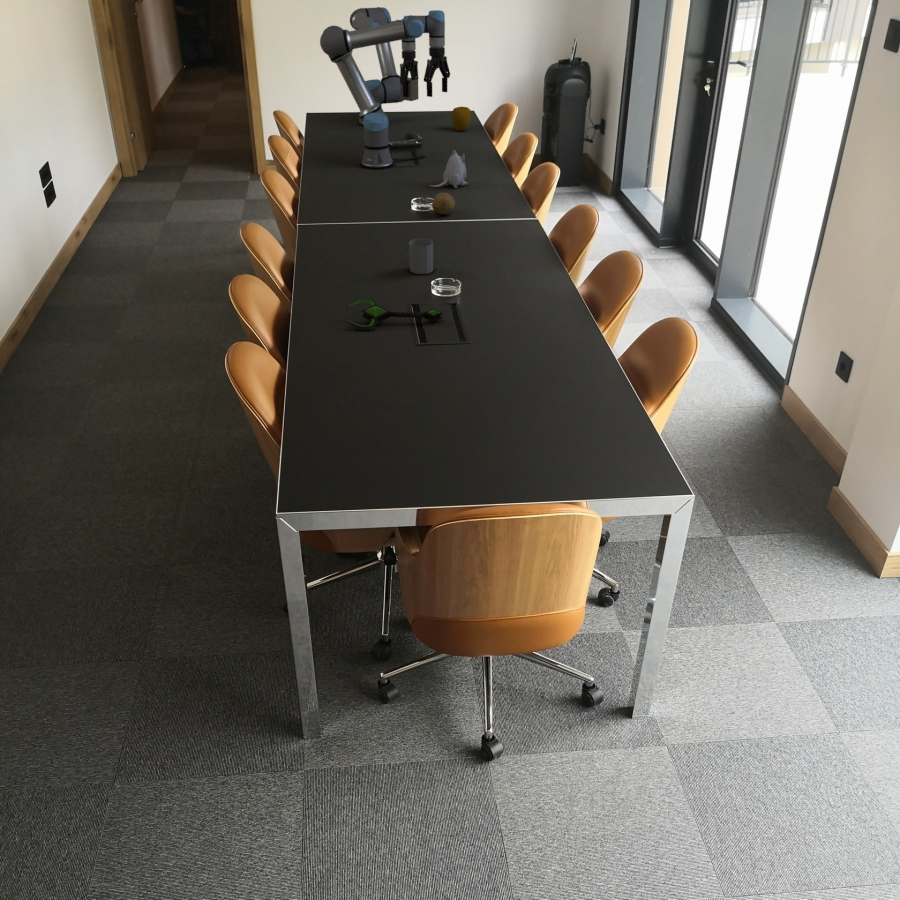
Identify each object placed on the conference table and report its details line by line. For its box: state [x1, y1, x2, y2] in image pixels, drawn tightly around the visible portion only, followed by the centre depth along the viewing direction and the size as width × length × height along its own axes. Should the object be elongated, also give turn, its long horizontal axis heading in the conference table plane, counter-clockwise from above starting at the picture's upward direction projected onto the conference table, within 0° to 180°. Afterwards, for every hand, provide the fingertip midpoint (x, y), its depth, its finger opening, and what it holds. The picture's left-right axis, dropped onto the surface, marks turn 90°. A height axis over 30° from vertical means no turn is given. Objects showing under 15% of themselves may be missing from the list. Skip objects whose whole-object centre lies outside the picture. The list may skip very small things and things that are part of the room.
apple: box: [451, 105, 472, 132], centre depth 487 cm, size 11×11×13 cm
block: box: [401, 77, 419, 102], centre depth 478 cm, size 7×7×11 cm
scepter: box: [345, 298, 443, 331], centre depth 269 cm, size 6×13×30 cm
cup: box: [408, 237, 434, 275], centre depth 305 cm, size 8×8×10 cm
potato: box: [431, 192, 456, 216], centre depth 360 cm, size 10×14×8 cm
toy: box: [428, 149, 468, 189], centre depth 390 cm, size 9×24×15 cm, turn 137°
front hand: (437, 94), depth 424 cm, fingers open, 13 cm apart
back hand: (409, 95), depth 480 cm, fingers closed on block, 7 cm apart
